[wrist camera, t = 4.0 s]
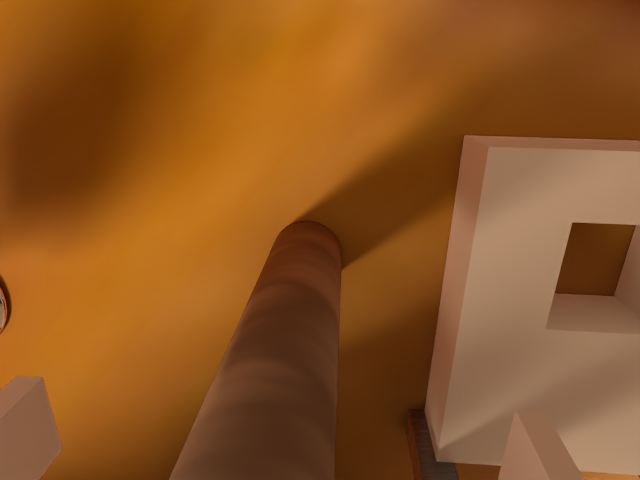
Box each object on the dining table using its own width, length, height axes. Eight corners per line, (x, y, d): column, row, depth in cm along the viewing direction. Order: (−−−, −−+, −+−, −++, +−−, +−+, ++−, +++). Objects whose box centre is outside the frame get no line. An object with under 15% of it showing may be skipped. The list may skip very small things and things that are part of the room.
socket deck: (424, 410, 28) (436, 461, 24) (464, 135, 21) (488, 146, 18) (641, 424, 27) (687, 478, 24) (750, 143, 21) (837, 157, 17)
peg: (273, 282, 25) (167, 577, 10) (272, 219, 24) (146, 456, 9) (340, 285, 25) (329, 591, 10) (343, 222, 24) (335, 469, 9)
